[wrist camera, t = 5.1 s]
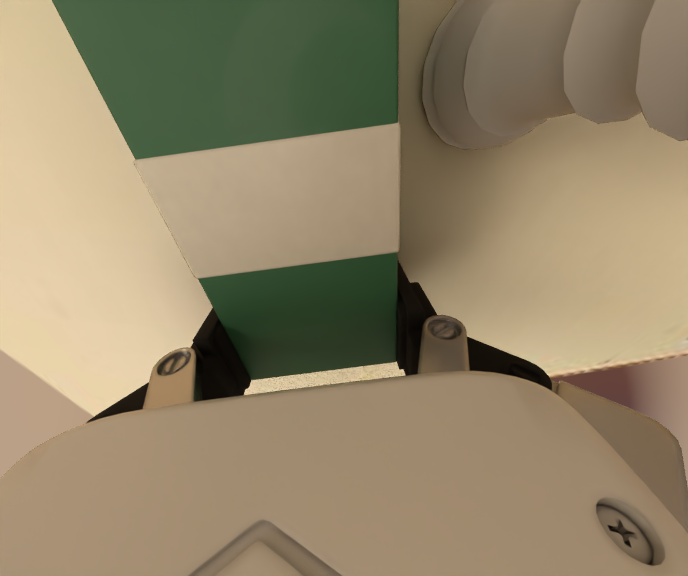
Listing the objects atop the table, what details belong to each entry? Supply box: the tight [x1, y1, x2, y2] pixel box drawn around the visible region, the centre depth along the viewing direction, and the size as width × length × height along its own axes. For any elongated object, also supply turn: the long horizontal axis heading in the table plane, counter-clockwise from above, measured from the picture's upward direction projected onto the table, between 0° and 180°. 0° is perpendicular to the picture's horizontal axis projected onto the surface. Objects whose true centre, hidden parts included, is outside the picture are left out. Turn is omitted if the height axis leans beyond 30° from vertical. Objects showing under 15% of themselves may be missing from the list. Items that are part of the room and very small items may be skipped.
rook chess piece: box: [422, 0, 688, 150], centre depth 5 cm, size 4×4×8 cm
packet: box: [52, 0, 401, 380], centre depth 8 cm, size 14×6×5 cm, turn 7°
